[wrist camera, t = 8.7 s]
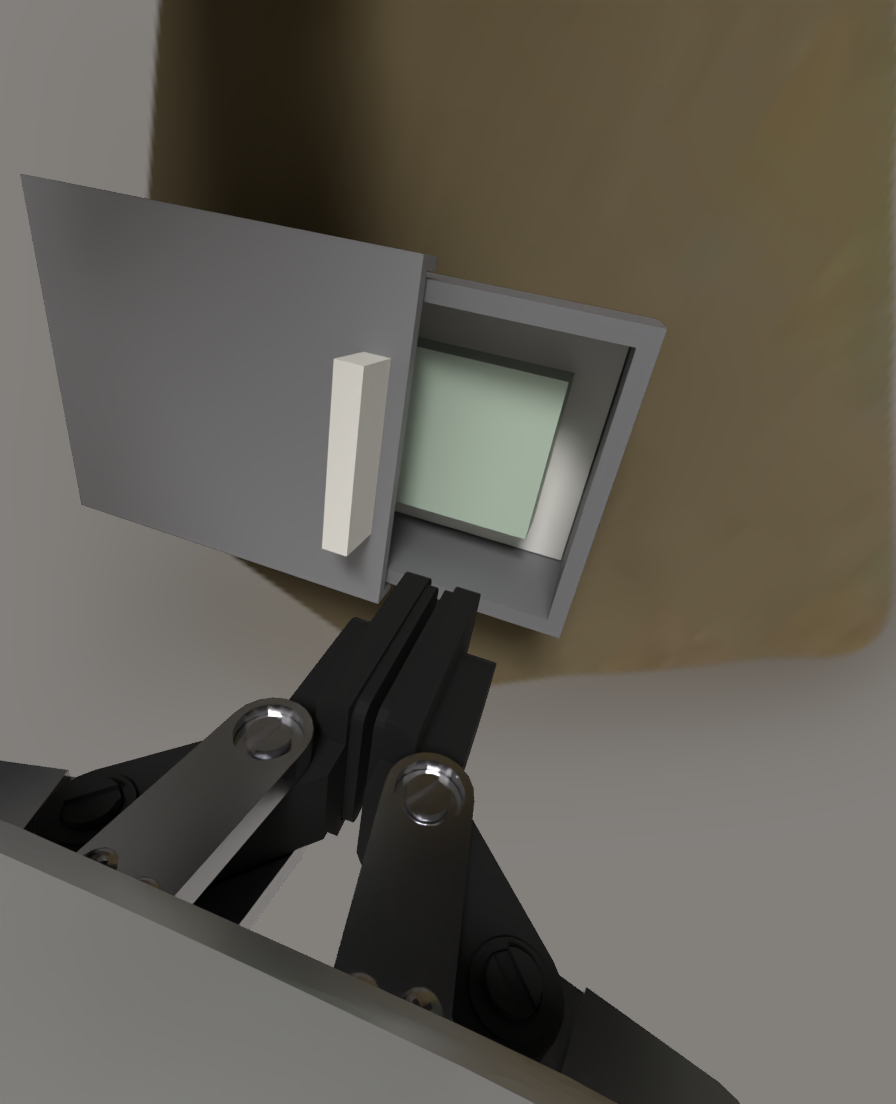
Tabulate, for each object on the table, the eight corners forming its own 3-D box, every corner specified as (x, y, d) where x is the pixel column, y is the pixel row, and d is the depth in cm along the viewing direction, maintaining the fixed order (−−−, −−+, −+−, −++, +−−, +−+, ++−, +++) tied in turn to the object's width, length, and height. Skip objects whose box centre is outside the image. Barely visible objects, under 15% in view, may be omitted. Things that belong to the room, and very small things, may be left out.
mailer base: (313, 248, 28) (226, 237, 22) (658, 319, 25) (667, 328, 19) (303, 490, 35) (234, 532, 29) (572, 571, 31) (559, 638, 25)
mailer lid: (55, 180, 24) (-45, 161, 20) (437, 256, 20) (397, 249, 17) (105, 495, 31) (39, 521, 28) (390, 588, 28) (356, 631, 25)
